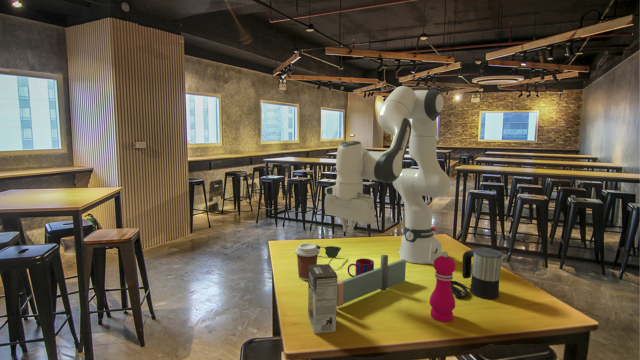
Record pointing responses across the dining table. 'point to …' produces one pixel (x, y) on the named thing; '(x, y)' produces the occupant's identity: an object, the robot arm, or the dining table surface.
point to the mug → (362, 266)
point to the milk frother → (480, 273)
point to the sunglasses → (331, 251)
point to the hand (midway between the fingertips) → (348, 232)
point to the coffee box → (322, 298)
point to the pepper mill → (443, 289)
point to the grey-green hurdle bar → (359, 286)
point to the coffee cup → (306, 258)
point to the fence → (392, 272)
